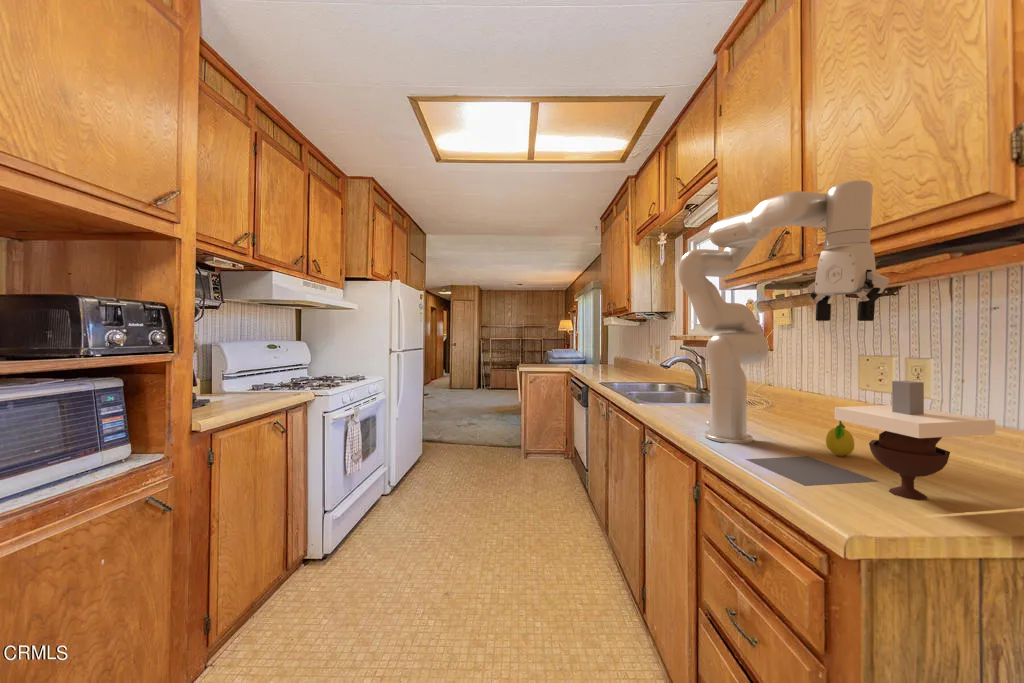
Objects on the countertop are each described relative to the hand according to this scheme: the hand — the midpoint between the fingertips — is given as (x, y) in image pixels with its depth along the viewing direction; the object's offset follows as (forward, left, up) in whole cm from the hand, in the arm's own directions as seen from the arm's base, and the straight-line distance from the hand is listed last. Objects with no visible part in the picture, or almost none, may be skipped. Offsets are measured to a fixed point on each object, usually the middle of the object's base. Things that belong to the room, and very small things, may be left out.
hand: (843, 320), depth 85 cm
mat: (-3, -6, -34) cm, 35 cm away
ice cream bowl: (+12, +1, -34) cm, 36 cm away
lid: (+12, +1, -21) cm, 24 cm away
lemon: (-11, +11, -34) cm, 38 cm away
